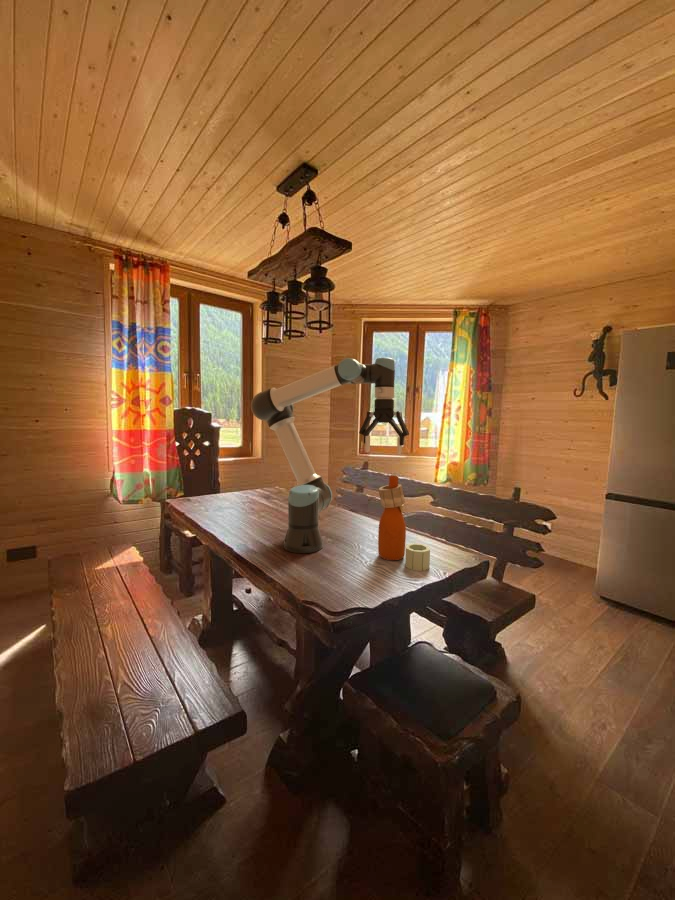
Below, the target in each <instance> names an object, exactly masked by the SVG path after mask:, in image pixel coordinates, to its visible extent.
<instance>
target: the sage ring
mask: <svg viewBox="0 0 675 900" xmlns="http://www.w3.org/2000/svg"><path fill="white" fill-rule="evenodd" d="M430 560H431V548H430V546H429V545H426V544H423V543H415V542H414V543H409V544H405V564H404V565H405V566H404V567H405V568H407V569H409V570H412V571H419V572H420V571H421V572H422V570H423V572H424V571H427V570H429V569H430V566H431V565H430V564H431V563H430ZM426 569H427V570H426Z"/></svg>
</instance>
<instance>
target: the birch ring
mask: <svg viewBox="0 0 675 900" xmlns="http://www.w3.org/2000/svg"><path fill="white" fill-rule="evenodd" d="M398 485H399V486H397V487H395V488H392V489H390V488H389V484H387V485H384V486H383V485H382V486H380V487H379V488H378V494H379V498H380V504H381V507H382V508H384V509H385V508H393V507H398V506H401V505H402V506H403V505H405V503H406V500H405V495H404V490H403V489H404V488H403V485H402V484H399V483H398Z"/></svg>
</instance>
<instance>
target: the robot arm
mask: <svg viewBox="0 0 675 900" xmlns="http://www.w3.org/2000/svg"><path fill="white" fill-rule="evenodd" d="M374 361H375V362H374V363H372V364H371V363H364V364H363V363H361V362H359V361H358V360H357V359H355V358H350V357H348V358H347V357H346V358H343V359H342V360H341V361H339V363H337V364H336V365H333V366H331V367H328V368H326V369H323V370H320V371H317V372H315V373H313V374H310V375H308V376H305V377H303V378H301V379H298V380H295V381H293V382H290V383H289V384H285V385H283V386H281V387H278V388H276V387H270V388H268V389H266V390H263V391H260V392H258V393H257V394H255V395H253V397H252V399H251V403H250V409H251V412H252V414H253V416H254V417H255V418H257V419H258V420H260V421H263V422H266V423H267V426H268V427H269V428H268V429H270V430H272V431H274V433H275V435H276V437H277V439H278V441H279V444H280V446H281V448H282V450H283V452H284V455H285V457H286V459H287V461H288V465H289V466H290V468H291V471H292V473H293V476H294V477H295V479H296V482H297V483H296V485H295V486H293V487H291V488H290V489H289V491H288V496H287V502H288V504H287V506H288V507H287V512H288V513H287V515H288V517H287V518H288V519H287V520H288V521H287V522H288V525H287V531H286V533H285V538H284V540H283V549H284V550H285V551H288V552H290V553H295V554H309V553H310V554H311V553H315V552H317V551H318V552H319V551H321V549H323V546H324V543H323V538H322V535H321V532H320V528H319V514H320V513H322V511H325V510H326V509H327V508H328V507H329V505H330V504H331V502H332V500H333V492H332V490H331V489H332V488H331V487H330V486H329V485H328V484H327V483H325V482H324V479H323V478H322V476H321V475H320V474H317V473H316V470H315V469H314V466H313V464H312V461H311V460H310V457H309V455H308V453H307V450H306V448H305V447H304V444H303V441H302V440H301V437H300V435H299V432H298V431H297V428H296V426H295V423H294V422H295V420H296V417H295V415H294V412H293V411H294V404H296V403H299V402H302V401H304V400H307V399H309V398H312V397H314V396H318V395H320V394H322V393H324V392H327V391H329V390H333V389H335V388H338V387H341V386H342V385H346V384H347V385H348V384H349V385H359V384H360V385H363V384H364V385H365V384H367V385H368V384H374V408H373V409H374V411H372V410H367V411H366V417H365V419H364V421H363V424H362V425H361V427H360V430H359V432H358V433H359V434H360V435H361V436H363V444H365V448H364V451H365V452H364V453H370V452H371V435H370V433H371V432H373V430H374V429H375V427H376V426H377V425H378V424H380V423H381V424H382V423H385V424H390V426H391V427H392V428H393V430H394V431H395V432H396V434H397V435H398V436H397V437H396V438H397V439H396V440H397V441H396V442H397V443H396V455H401V454H402V449H403V448H402V446H404V445H405V437H407V436H409V435H410V433H409V430H408V427H407V426H406V423H405V421H404V418H403V415H402V411H400V410H399V411H398V410H397V411H394V410H395V409H394V407H395V400H394V398H395V379H396V378H395V375H396V370H395V368H396V367H395V364H396V363H395V360H394V359H393V358H391V357H378V358H375V360H374ZM373 416H374V419H373V420H372V418H373ZM394 417H395V418H396V420H397V422H398V424H397V423H396V421H395V419H394ZM371 420H372V422H370V421H371ZM369 424H370V425H369ZM398 425H399V426H398Z"/></svg>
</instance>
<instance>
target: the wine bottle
mask: <svg viewBox="0 0 675 900" xmlns="http://www.w3.org/2000/svg"><path fill="white" fill-rule="evenodd" d="M398 484H399V476H398V475H395V474H393V475H392V474H391V475H390V476H389V477H388V485H389V488H390V489H392V488H395V487H397V486H399V485H398ZM403 509H404V508H403V505H401V506H398V507H393V508H384V509H383V512H382V514H381V516H380V519H379V522H378V530H377V531H378V535H377V537H378V539H377V541H378V547H377V549H378V556H379V557H380V558H382V559H383V560H387V561H398V560H399V561H400V560H402V559H404V557H405V555H406V537H407V526H406V521H405V518H404V515H403V512H404V510H403Z"/></svg>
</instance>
